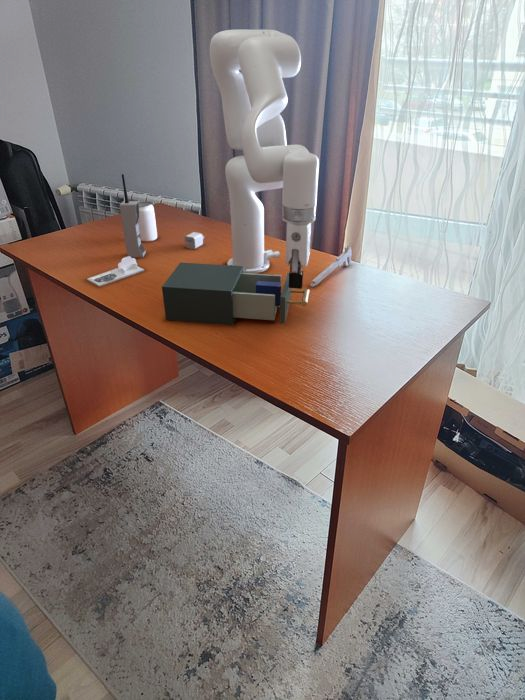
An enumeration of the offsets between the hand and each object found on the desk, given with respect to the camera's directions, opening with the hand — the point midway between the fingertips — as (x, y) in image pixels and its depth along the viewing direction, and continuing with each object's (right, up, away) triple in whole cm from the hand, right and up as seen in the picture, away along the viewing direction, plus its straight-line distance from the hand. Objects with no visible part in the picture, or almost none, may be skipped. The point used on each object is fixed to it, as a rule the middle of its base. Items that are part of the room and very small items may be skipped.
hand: (295, 286), depth 121 cm
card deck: (-6, -4, +4) cm, 9 cm away
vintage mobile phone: (-48, +14, +37) cm, 62 cm away
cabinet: (-22, -5, +7) cm, 24 cm away
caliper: (+12, +6, +23) cm, 27 cm away
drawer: (-7, -5, +4) cm, 9 cm away
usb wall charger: (-30, +19, +45) cm, 57 cm away
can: (-47, +23, +50) cm, 72 cm away
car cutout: (-51, +6, +24) cm, 57 cm away
